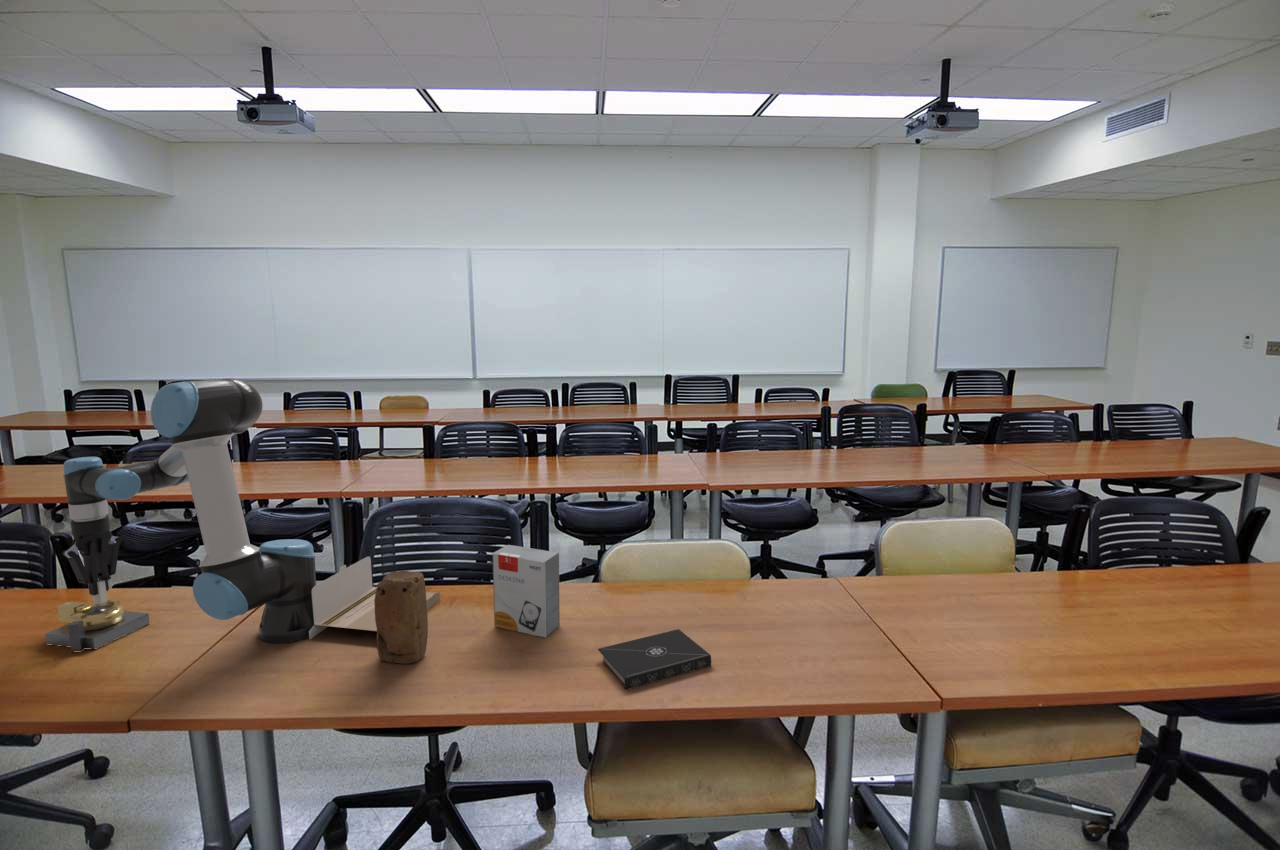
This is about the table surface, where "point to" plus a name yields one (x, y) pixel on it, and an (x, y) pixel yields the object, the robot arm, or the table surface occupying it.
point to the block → (401, 617)
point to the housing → (95, 632)
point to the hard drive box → (526, 590)
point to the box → (349, 599)
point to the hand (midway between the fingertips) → (101, 604)
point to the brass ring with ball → (92, 613)
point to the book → (655, 658)
